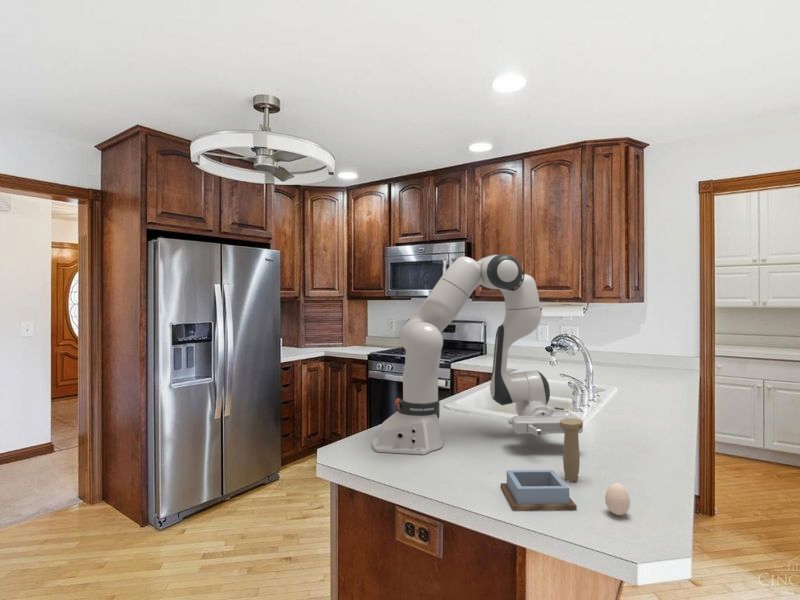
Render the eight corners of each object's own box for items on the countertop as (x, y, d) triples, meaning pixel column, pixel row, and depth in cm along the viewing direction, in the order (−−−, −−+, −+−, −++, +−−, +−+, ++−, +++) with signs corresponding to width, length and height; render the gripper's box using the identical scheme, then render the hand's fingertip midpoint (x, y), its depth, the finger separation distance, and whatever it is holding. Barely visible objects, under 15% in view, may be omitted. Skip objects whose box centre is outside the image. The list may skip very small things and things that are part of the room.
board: (512, 510, 99) (512, 506, 99) (500, 487, 111) (500, 483, 111) (576, 510, 99) (576, 505, 99) (557, 486, 111) (557, 482, 111)
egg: (608, 507, 101) (608, 477, 100) (632, 513, 98) (632, 482, 97) (602, 515, 97) (602, 484, 97) (626, 522, 94) (626, 490, 94)
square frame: (517, 504, 100) (517, 488, 100) (506, 484, 110) (506, 470, 110) (569, 504, 100) (569, 488, 100) (553, 484, 110) (553, 469, 110)
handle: (555, 480, 115) (555, 421, 115) (569, 473, 119) (569, 417, 119) (573, 486, 111) (573, 425, 111) (587, 479, 115) (586, 421, 115)
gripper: (506, 409, 141) (518, 422, 127) (571, 408, 141) (590, 421, 127) (506, 429, 141) (518, 444, 127) (572, 428, 141) (590, 443, 127)
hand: (555, 432), depth 127 cm, fingers open, 8 cm apart
